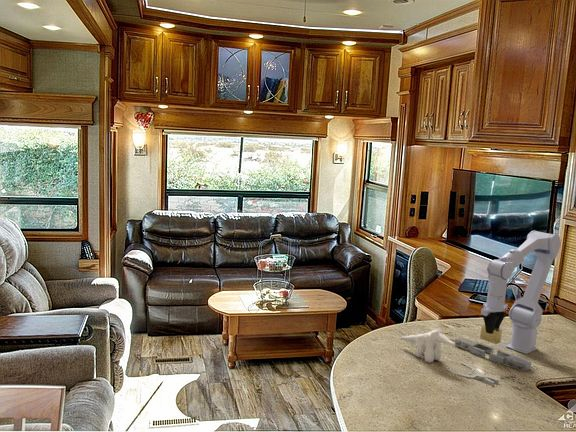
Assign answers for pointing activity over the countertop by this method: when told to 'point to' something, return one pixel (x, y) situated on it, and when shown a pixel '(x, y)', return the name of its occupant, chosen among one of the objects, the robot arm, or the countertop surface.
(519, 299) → the robot arm
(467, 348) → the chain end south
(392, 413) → the countertop surface
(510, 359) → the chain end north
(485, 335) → the brushed brass bar
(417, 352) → the dinosaur statue
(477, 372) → the pliers
